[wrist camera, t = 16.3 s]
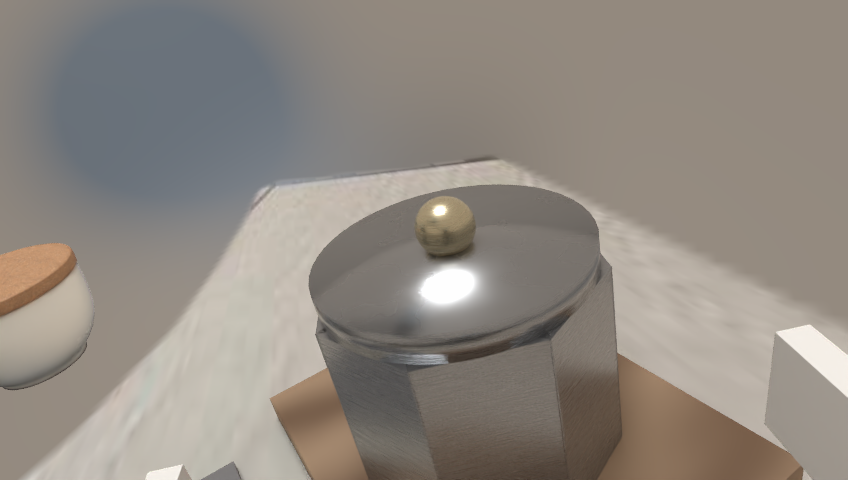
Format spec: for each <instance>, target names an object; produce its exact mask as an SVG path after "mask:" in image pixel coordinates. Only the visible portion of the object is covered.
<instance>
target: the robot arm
mask: <svg viewBox="0 0 848 480" xmlns="http://www.w3.org/2000/svg"><path fill="white" fill-rule="evenodd" d="M764 424H765V425H766V426H767V427H768V428H769V430H770V431H771V432H772V433H773V434H774V435H775V436H776V438H777V439H778V440H779V441H780V442H781V443H782V445H783V446H784V447H785V448H786V449H787V450H788V451H789V453H790V454H791V455H792V456H793V457H794V458H795V460H796V461H797V462H798V463H799V464H800V465H801V466H802V468H803V469H804V470H805V471H806V472H807V473H808V475H809V476H810V477H811V478H812V479H813V480H848V355H847V354H845V353H844V352H843V351H842V350H841V349H839V348H838V347H837V346H836V345H834V344H833V343H832V342H831V341H829V340H828V339H827V338H826V337H825V336H823V335H822V334H821V333H820V332H818V331H817V330H816V329H815V328H814V327H812V326H811V325H805V326H801V327H796V328H792V329H787V330H783V331H778V332H775V338H774V347H773V355H772V364H771V372H770V380H769V389H768V397H767V406H766V414H765V423H764ZM145 480H192V479H191V478H190V476H189V474H188V472H187V471H186V469H185V467H184V465H183V464H182V465H178V466H173V467H169V468H164V469H160V470H155V471H151V472H148V474H147V476H146V479H145Z"/></svg>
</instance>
